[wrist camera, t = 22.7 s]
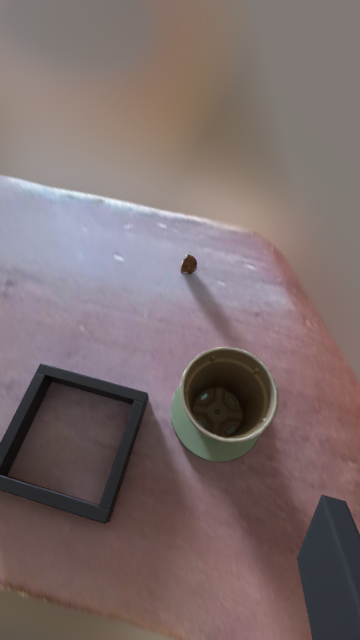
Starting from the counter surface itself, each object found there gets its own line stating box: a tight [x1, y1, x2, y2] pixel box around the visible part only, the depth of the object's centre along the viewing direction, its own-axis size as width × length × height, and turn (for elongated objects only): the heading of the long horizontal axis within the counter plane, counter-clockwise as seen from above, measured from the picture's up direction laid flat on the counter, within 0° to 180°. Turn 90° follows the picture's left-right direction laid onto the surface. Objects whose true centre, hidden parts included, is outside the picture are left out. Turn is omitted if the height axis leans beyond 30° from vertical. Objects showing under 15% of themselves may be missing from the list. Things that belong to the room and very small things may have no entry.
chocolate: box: [180, 248, 197, 274], centre depth 48 cm, size 3×2×4 cm
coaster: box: [171, 385, 260, 462], centre depth 40 cm, size 11×11×1 cm
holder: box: [0, 364, 148, 524], centre depth 37 cm, size 13×13×2 cm
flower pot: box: [180, 347, 278, 443], centre depth 36 cm, size 9×9×9 cm
